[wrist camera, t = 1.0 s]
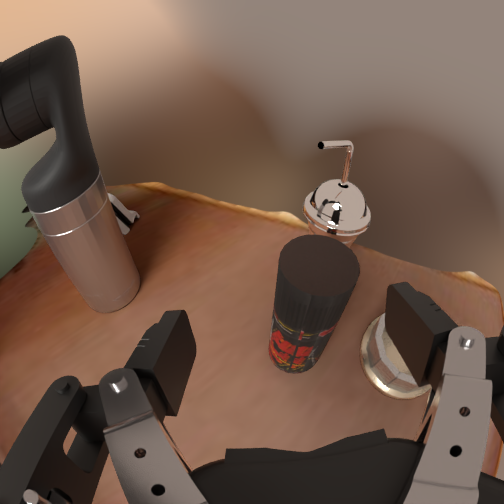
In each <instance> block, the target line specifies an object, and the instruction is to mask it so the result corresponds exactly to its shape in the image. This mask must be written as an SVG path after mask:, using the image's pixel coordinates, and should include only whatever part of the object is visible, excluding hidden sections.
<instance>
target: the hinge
mask: <svg viewBox="0 0 504 504" xmlns="http://www.w3.org/2000/svg"><path fill="white" fill-rule="evenodd" d="M108 196H109V199H110V202H111V205H112V208H113V210H114V213H115V216H116V218H117V221H118V224H119V226H120V229H121V231H122V234H125V235H126V234H127V233H128V232H129V231H130V229H129V226H128V225H127V224H130V223H133V222H134V218H139V217H140V216H139V215H138V213H137V212H136V211H130V210H127V209H126V208H125V207H124V205H123V204H122V203H121V202H120V201H119V200H118V199H117V198H116V197H115V196H114V195H112V194H109V193H108ZM126 223H127V224H126Z"/></svg>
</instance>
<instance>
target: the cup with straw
mask: <svg viewBox="0 0 504 504" xmlns="http://www.w3.org/2000/svg"><path fill="white" fill-rule="evenodd" d="M318 147H319V149H328V148H340V147H347V152H346V157H345V162H344V168H343V172H342V178H341V179H332V180H328V181H325V182H323V183H322V184H320V185H319V186H318V187H317V188H316V190H315V191H314V192H312V193H310V194H309V195H308V196H307V197H306V199H305V202H304V203H303V213H304V216H305V217H306V219H307V220H308V225H309V235H316V234H317V235H324V236H328V237H331V238H334V239H336V240H338V241H340V242H342V243H344V244H345V245H346V246H347V247H348V248H350V247H351V245H352V243H353V241H354V240H355V239H356V238H357V236H358V235H359V234H361V233H363V232H364V231H366V230H367V229H368V227H369V226H370V218H371V214H370V210H369V208H368V207H367V205H366V201H365V197H364V195H363V193H362V192H361V190H360V189H359V188H358V187H357V186H356V185H354V184H353V183H351V182H348V181H347V179H348V174H349V169H350V164H351V159H352V155H353V149H354V148H353V144H352V142H350V141H347V140H346V141H323V142H319V143H318Z"/></svg>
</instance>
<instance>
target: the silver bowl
mask: <svg viewBox="0 0 504 504" xmlns="http://www.w3.org/2000/svg"><path fill="white" fill-rule="evenodd" d="M360 361H361V365H362V368H363V371H364V373H365V375H366V377H367V379H368V380H369V382H370V383H371V384H372V385H373V386H374V387H375V388H376V389H377V390H378V391H379V392H381V393H382V394H384V395H386V396H388V397H391V398H394V399H400V400H407V399H413V398H416V397H418V396H420V395H422V394H424V393H425V392H427V391H428V390H429V389H430V388H431V385H430V384H428V385H425V386H422V387H418V385H417V384H416V382H415V380H414V378H413V376H412V375H411V373H410V371H409V369H408V367H407V366H406V364H405V362H404V361H403V359H402V357H401V355H400V354H399V352H398V350H397V349H396V347H395V345H394V344H393V342H392V340H391V339H390V337H389V335H388V334H387V332H386V328H385V313H384V314H382V315H381V316H379V317H378V318H376V319H375V320H374V321H373V322H372V323H371V324H370V325H369V327H368V328H367V330H366V331H365V333H364V335H363V337H362V340H361V344H360Z"/></svg>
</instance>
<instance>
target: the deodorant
mask: <svg viewBox="0 0 504 504" xmlns="http://www.w3.org/2000/svg"><path fill="white" fill-rule="evenodd" d="M359 274H360V268H359V263H358V260H357V257H356V256H355V254H354V253H353V252H352V250H351V249H350V248H348V247H347V246H346V245H345V244H344V243H342V242H340V241H338V240H336V239H334V238H331V237H328V236H324V235H317V234H316V235H304V236H300V237H297V238H295V239H293V240H291V241H290V242H288V243H287V244H286V245H285V246H284V248H283V249H282V251H281V253H280V258H279V265H278V274H277V283H276V292H275V301H274V309H273V318H272V326H271V334H270V342H269V355H270V358H271V361H272V362H273V363H274V364H275V366H277V367H278V368H279V369H281V370H283V371H285V372H288V373H302V372H305V371H307V370H309V369H310V368H312V367H313V366H314V365H315V363H316V362H317V360H318V359H319V357H320V355H321V353H322V351H323V349H324V348H325V346H326V344H327V342H328V340H329V338H330V336H331V334H332V332H333V331H334V329H335V327H336V325H337V323H338V321H339V319H340V317H341V315H342V313H343V311H344V308H345V306H346V304H347V302H348V300H349V298H350V296H351V294H352V291H353V289H354V287H355V285H356V283H357V280H358V277H359Z"/></svg>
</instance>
